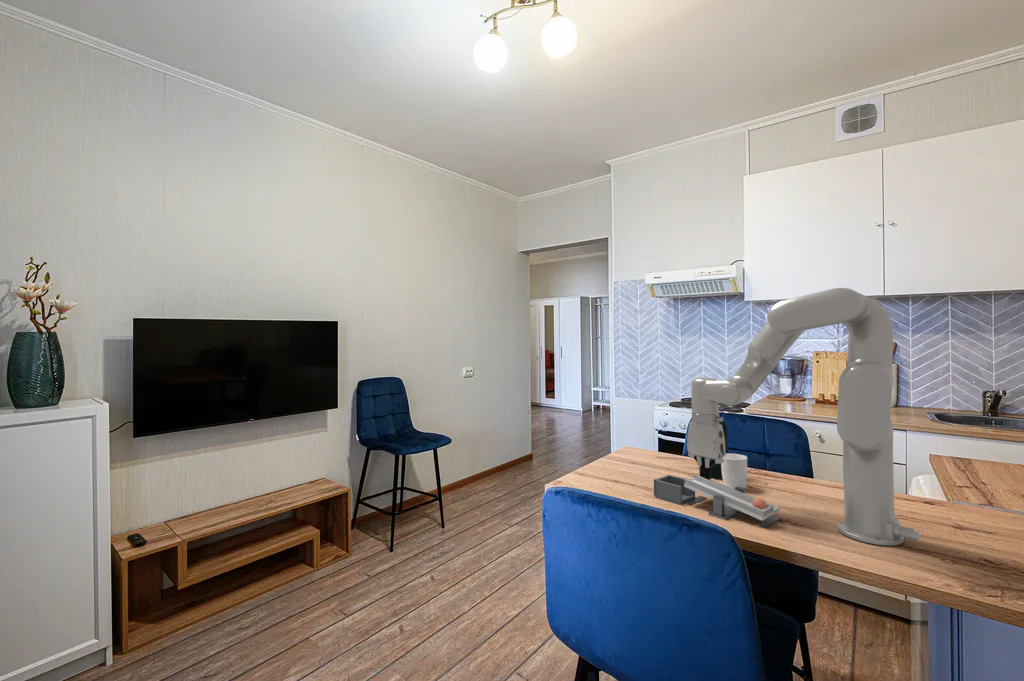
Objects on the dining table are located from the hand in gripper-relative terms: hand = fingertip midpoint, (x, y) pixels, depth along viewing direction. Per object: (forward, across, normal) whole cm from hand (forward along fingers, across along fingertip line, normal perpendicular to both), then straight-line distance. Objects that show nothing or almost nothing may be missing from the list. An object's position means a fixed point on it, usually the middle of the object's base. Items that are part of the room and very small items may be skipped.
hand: (705, 479), depth 134 cm
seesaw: (+2, -9, +4) cm, 10 cm away
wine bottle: (+6, +11, -24) cm, 28 cm away
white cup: (+6, 0, -18) cm, 19 cm away
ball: (+1, -18, +6) cm, 19 cm away
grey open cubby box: (+6, +7, +6) cm, 11 cm away
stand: (+6, -9, +4) cm, 11 cm away
